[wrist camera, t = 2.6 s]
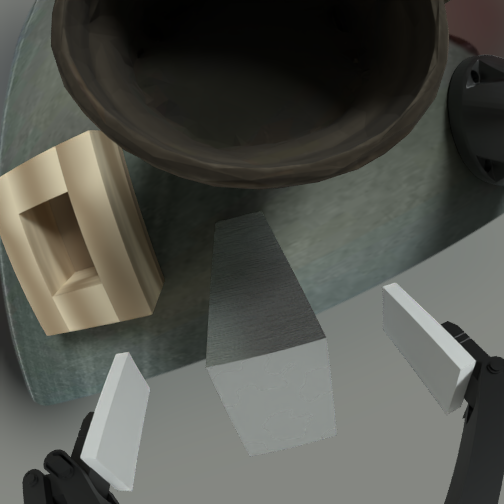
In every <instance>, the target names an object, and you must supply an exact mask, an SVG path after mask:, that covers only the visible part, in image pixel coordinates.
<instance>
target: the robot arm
mask: <svg viewBox="0 0 504 504" xmlns="http://www.w3.org/2000/svg"><path fill="white" fill-rule="evenodd" d="M448 108H449V119H450V125H451V130H452V134H453V138H454V141H455V144H456V146H457V149H458V151H459V154H460V156H461V158H462V159H463V161H464V163H465V164H466V166H467V167H468V168H469V170H470V171H471V172H472V173H473V174H474V175H475V176H476V177H478V178H479V179H481V180H483V181H485V182H488V183H491V184H495V185H499V186H504V58H500V57H496V56H493V55H480V56H474V57H470V58H467V59H465V60H464V61H462V62H461V63H460V64H459V65H458V67H457V68H456V70H455V72H454V74H453V76H452V79H451V83H450V88H449V98H448ZM383 330H384V331H385V333H386V334H387V335H388V336H389V338H390V339H391V340H392V341H393V343H394V344H395V346H396V347H397V348H398V349H399V351H400V352H401V353H402V355H403V356H404V357H405V359H406V360H407V361H408V363H409V364H410V365H411V367H412V368H413V369H414V371H415V372H416V373H417V375H418V376H419V377H420V379H421V380H422V381H423V383H424V384H425V385H426V387H427V388H428V390H429V391H430V392H431V394H432V395H433V397H434V398H435V399H436V401H437V402H438V404H439V405H440V406H441V408H442V409H443V411H444V412H445V413H446V414H449V413H450V412H452V411H454V410H456V409H458V408H459V407H461V404H462V402H463V399H465V400H466V401H467V402H468V406H467V408H466V411H465V413H464V416H463V418H465V422H464V428H463V433H462V439H461V443H460V448H459V453H458V457H457V462H456V465H455V469H454V473H453V476H452V480H451V484H450V487H449V490H448V493H447V497H446V500H445V503H444V504H498V500H499V495H500V491H501V486H502V480H503V475H504V359H502V358H501V357H497V356H494V357H490V356H488V354H486V353H485V352H484V351H483V350H482V349H481V348H480V347H479V346H478V345H477V344H476V343H475V342H474V341H473V340H472V339H470V337H469V336H468V335H467V334H466V333H464V331H462V329H461V328H460V327H458V326H457V325H455V324H453V323H451V322H448V321H447V322H445V323H443V324H441V325H440V324H439V323H438V322H437V321H436V320H435V319H434V318H433V317H432V316H431V315H430V314H429V313H428V312H427V311H425V310H424V309H423V308H422V307H421V306H420V305H419V304H418V303H417V302H416V301H415V300H414V299H413V298H412V297H411V296H410V295H408V294H407V293H406V292H405V291H404V290H403V289H402V288H401V287H400V286H399V285H398V284H396V283H392V284H389V285H386V286H384V287H383ZM149 393H150V388H149V386H148V385H147V383H146V381H145V380H144V378H143V376H142V375H141V373H140V371H139V369H138V368H137V366H136V364H135V363H134V361H133V359H132V357H131V355H130V354H129V352H125V353H119V354H116V355H115V358H114V361H113V363H112V366H111V368H110V371H109V374H108V376H107V379H106V382H105V384H104V387H103V390H102V393H101V395H100V398H99V401H98V404H97V407H96V410H95V412H89V413H88V415H87V416H86V417H85V419H84V420H83V422H82V425H81V428H80V429H81V430H80V431H79V434H78V437H77V440H76V443H75V446H74V449H73V452H72V455H71V457H70V456H69V455H68V454H67V453H66V452H65V451H63V450H54V451H52V452H50V453H49V454H48V455H47V457H46V458H45V460H44V469H45V470H47V471H48V472H49V473H50V474H48V475H44V474H43V473H42V472H41V471H39V470H37V469H32V470H30V471H28V472H27V473H26V474H25V476H24V478H23V496H24V504H119V503H118V501H117V500H116V498H115V497H114V495H113V494H112V493H111V492H110V491H109V488H110V485H111V486H113V487H114V488H115V489H116V490H119V491H133V482H134V477H135V470H136V464H137V457H138V451H139V445H140V440H141V434H142V429H143V423H144V418H145V412H146V407H147V403H148V397H149Z"/></svg>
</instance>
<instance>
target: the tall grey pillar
mask: <svg viewBox="0 0 504 504" xmlns="http://www.w3.org/2000/svg"><path fill="white" fill-rule="evenodd" d="M206 369H207V371H208V373H209V376H210V378H211V380H212V382H213V384H214V386H215V389H216V391H217V393H218V395H219V397H220V399H221V401H222V403H223V405H224V407H225V409H226V411H227V413H228V415H229V417H230V419H231V421H232V423H233V425H234V427H235V429H236V431H237V433H238V435H239V437H240V439H241V441H242V443H243V445H244V447H245V448H246V450H247V452H248V454H249V456H255V455H260V454H265V453H270V452H275V451H279V450H284V449H288V448H293V447H296V446H300V445H304V444H308V443H312V442H316V441H319V440H323V439H326V438H329V437H333V436H336V435H337V433H336V422H335V410H334V400H333V390H332V381H331V373H330V363H329V355H328V347H327V339H326V336H325V334H324V332H323V330H322V328H321V326H320V324H319V322H318V320H317V318H316V316H315V314H314V312H313V310H312V308H311V306H310V304H309V302H308V300H307V298H306V296H305V294H304V292H303V290H302V288H301V286H300V284H299V282H298V280H297V278H296V276H295V274H294V272H293V270H292V268H291V267H290V265H289V263H288V261H287V259H286V257H285V255H284V253H283V251H282V249H281V247H280V245H279V243H278V241H277V239H276V238H275V236H274V234H273V232H272V230H271V228H270V226H269V224H268V222H267V220H266V219H265V217H264V215H263V213H262V211H258V212H254V213H250V214H246V215H242V216H238V217H234V218H230V219H226V220H223V221H219V222H216V223H215V235H214V247H213V260H212V273H211V287H210V301H209V317H208V335H207V354H206Z"/></svg>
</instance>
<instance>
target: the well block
mask: <svg viewBox="0 0 504 504" xmlns="http://www.w3.org/2000/svg"><path fill="white" fill-rule="evenodd" d="M0 235H1V238H2V241H3V244H4V246H5V249H6V251H7V254H8V256H9V259H10V261H11V264H12V266H13V269H14V271H15V273H16V275H17V278H18V280H19V282H20V284H21V286H22V289H23V291H24V293H25V295H26V297H27V299H28V301H29V303H30V305H31V307H32V309H33V311H34V313H35V315H36V317H37V319H38V320H39V322H40V324H41V326H42V328H43V329H44V331H45V333H46V335H47V336H50V335H55V334H61V333H66V332H71V331H76V330H81V329H87V328H92V327H97V326H101V325H106V324H111V323H116V322H121V321H126V320H130V319H135V318H140V317H144V316H149V315H153V312H154V309H155V306H156V304H157V301H158V298H159V295H160V293H161V290H162V287H163V284H164V282H165V279H164V276H163V274H162V271H161V268H160V266H159V263H158V260H157V257H156V255H155V252H154V249H153V246H152V243H151V241H150V238H149V235H148V232H147V229H146V226H145V223H144V220H143V217H142V214H141V211H140V208H139V205H138V201H137V198H136V195H135V192H134V188H133V185H132V182H131V178H130V175H129V172H128V168H127V165H126V161H125V158H124V154H123V150H122V148H121V147H120V146H118V145H117V144H116V143H115V142H113V141H112V140H111V139H109V138H108V137H107V136H106V135H105V134H104V133H103V132H102V131H87V132H84V133H82V134H80V135H78V136H76V137H74V138H71V139H69V140H67V141H65V142H63V143H61V144H59V145H57V146H55V147H53V148H51V149H49V150H47V151H45V152H43V153H41V154H39V155H37V156H36V157H34V158H32V159H30V160H28V161H27V162H25V163H23V164H21V165H19V166H18V167H16V168H14V169H13V170H11V171H9V172H8V173H6V174H4V175H3V176H1V177H0Z"/></svg>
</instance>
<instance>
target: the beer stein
mask: <svg viewBox="0 0 504 504" xmlns="http://www.w3.org/2000/svg"><path fill="white" fill-rule="evenodd" d="M448 1H450V0H55V3H54V8H53V12H52V27H51V47H52V50H53V54H54V57H55V60H56V63H57V66H58V69H59V72H60V75H61V78H62V81H63V84H64V87H65V88H66V90H67V91H68V92H69V94H70V95H71V96H72V98H73V99H74V100H75V102H76V103H77V104H78V106H79V107H80V108H81V110H82V111H83V112H84V114H85V115H86V116H87V117H88V118H89V119H90V120H91V121H92V122H93V123H94V124H95V125H96V126H97V127H98V128H99V129H100V130H101V131H102V132H103V133H104V134H105V135H106V136H107V137H108V138H109V139H111V140H112V141H113V142H115V143H116V144H117V145H118V146H120V147H121V148H122V149H124V150H125V151H127V152H129V153H131V154H133V155H135V156H137V157H139V158H141V159H142V160H144V161H146V162H147V163H149V164H150V165H152V166H153V167H155V168H158V169H161V170H163V171H166V172H168V173H171V174H173V175H176V176H179V177H181V178H185V179H189V180H192V181H196V182H200V183H204V184H207V185H211V186H215V187H231V188H247V189H268V188H283V187H289V186H295V185H302V184H309V183H316V182H320V181H323V180H326V179H329V178H332V177H335V176H338V175H341V174H344V173H348V172H351V171H354V170H357V169H359V168H361V167H363V166H364V165H366V164H368V163H369V162H371V161H373V160H375V159H376V158H378V157H380V156H382V155H383V154H385V153H386V152H388V151H389V150H390V149H391V148H392V147H394V146H395V145H396V144H397V143H398V142H400V141H401V140H402V139H403V138H405V137H406V136H407V135H408V134H409V133H410V132H411V130H412V129H413V128H414V126H415V125H416V124H417V123H418V121H419V120H420V119H421V117H422V116H423V115H424V113H425V112H426V110H427V109H428V108H429V106H430V105H431V103H432V102H433V101H434V99H435V98H436V95H437V92H438V89H439V86H440V83H441V80H442V77H443V74H444V70H445V67H446V64H447V59H448V45H449V30H448V23H447V17H446V10H445V5H444V4H445V3H447V2H448Z"/></svg>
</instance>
